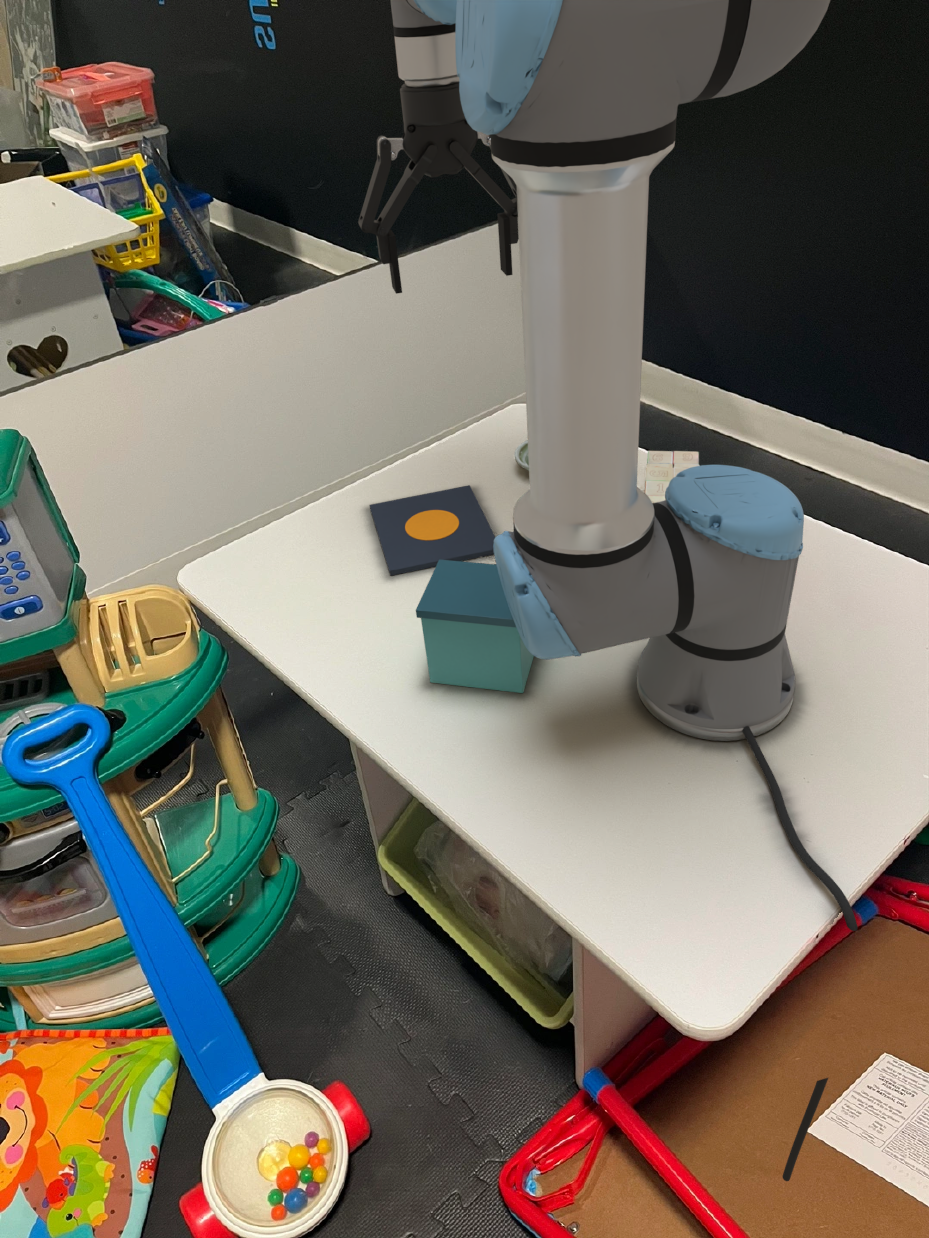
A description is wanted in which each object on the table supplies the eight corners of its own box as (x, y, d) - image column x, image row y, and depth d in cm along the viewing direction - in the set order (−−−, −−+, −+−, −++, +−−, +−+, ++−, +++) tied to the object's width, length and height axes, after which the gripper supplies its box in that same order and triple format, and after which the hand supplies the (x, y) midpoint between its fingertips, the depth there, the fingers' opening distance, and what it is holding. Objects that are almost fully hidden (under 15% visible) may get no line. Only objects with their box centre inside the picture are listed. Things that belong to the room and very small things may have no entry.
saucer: (500, 468, 129) (499, 453, 128) (549, 443, 134) (548, 428, 132) (549, 492, 124) (549, 476, 122) (598, 464, 128) (598, 449, 127)
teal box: (447, 632, 102) (438, 559, 96) (541, 641, 100) (538, 567, 94) (426, 684, 96) (415, 610, 90) (525, 695, 93) (521, 620, 87)
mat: (501, 553, 113) (500, 547, 113) (390, 576, 112) (389, 570, 111) (470, 489, 126) (469, 484, 125) (370, 509, 124) (369, 504, 123)
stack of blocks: (644, 513, 118) (649, 427, 110) (694, 515, 116) (702, 428, 108) (634, 618, 101) (639, 525, 94) (693, 622, 100) (702, 528, 92)
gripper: (536, 61, 102) (542, 256, 115) (314, 90, 99) (346, 288, 112) (556, 69, 96) (560, 274, 109) (322, 100, 93) (354, 307, 106)
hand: (452, 281), depth 111 cm, fingers open, 13 cm apart
